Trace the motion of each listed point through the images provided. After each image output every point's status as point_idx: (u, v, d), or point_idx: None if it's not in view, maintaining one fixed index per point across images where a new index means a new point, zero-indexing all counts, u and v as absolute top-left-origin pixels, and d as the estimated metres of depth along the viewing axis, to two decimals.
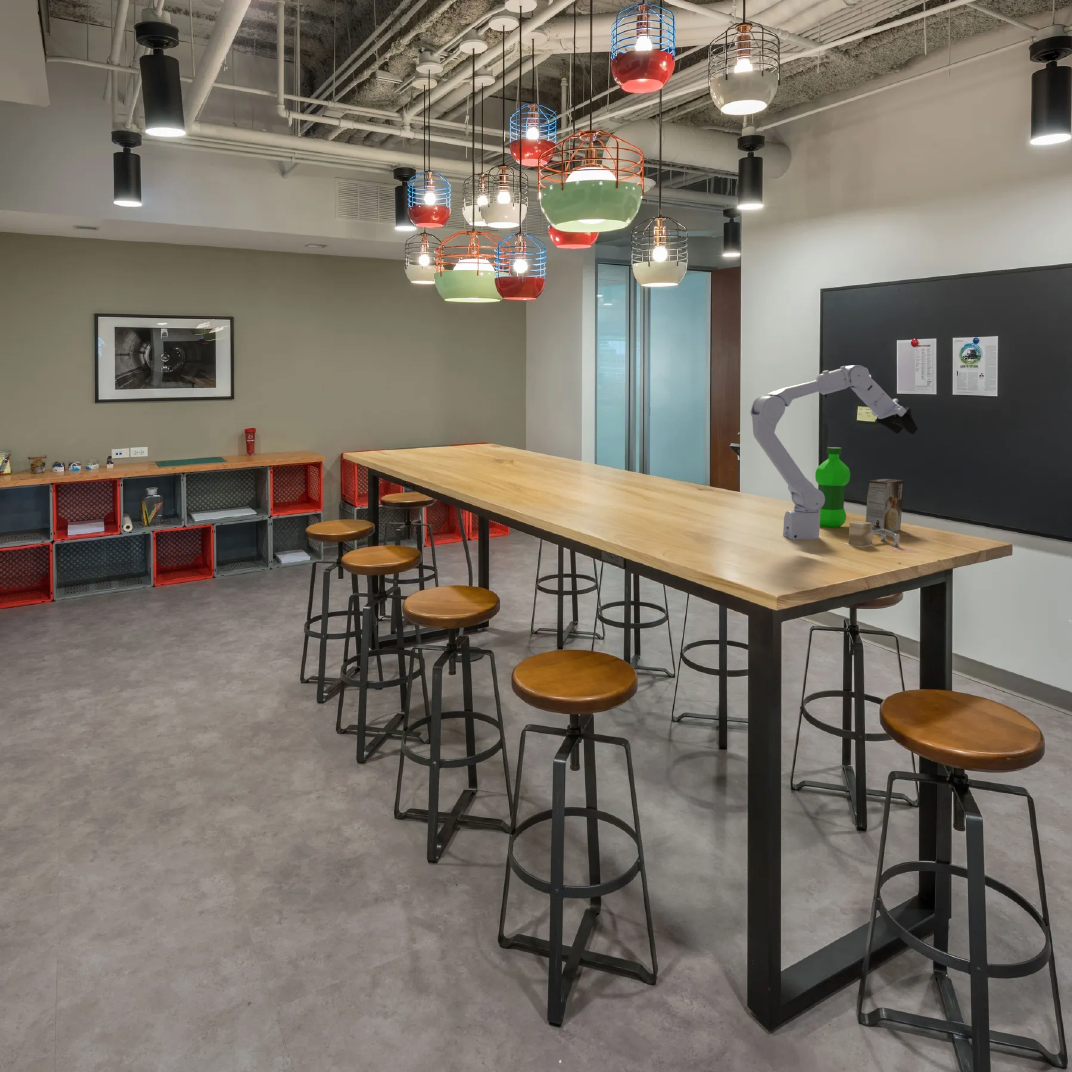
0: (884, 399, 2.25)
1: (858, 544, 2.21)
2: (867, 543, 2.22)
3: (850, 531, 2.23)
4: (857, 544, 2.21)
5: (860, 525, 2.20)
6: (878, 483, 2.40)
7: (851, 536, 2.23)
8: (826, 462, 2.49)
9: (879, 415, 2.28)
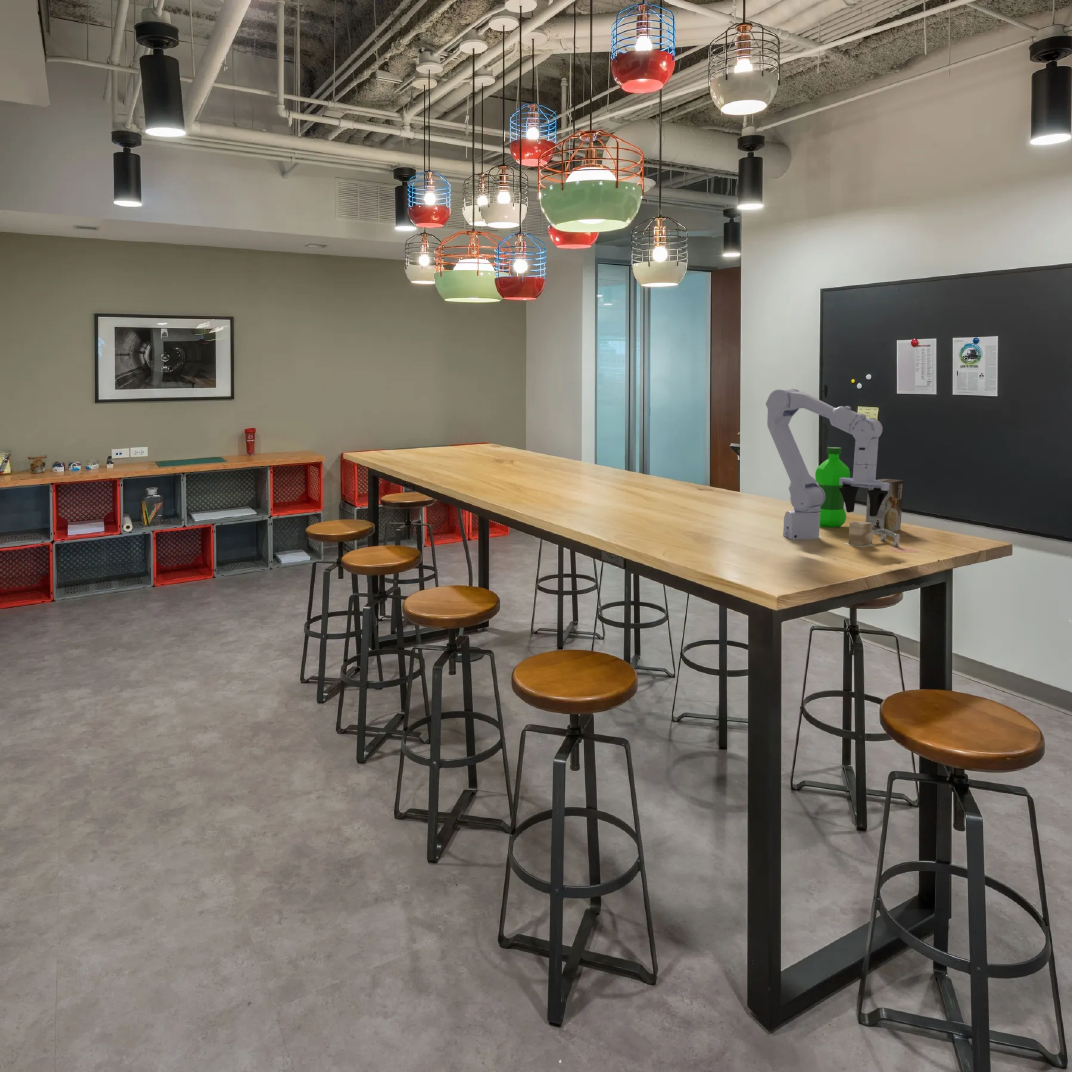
0: (874, 468, 2.17)
1: (858, 544, 2.21)
2: (867, 543, 2.22)
3: (850, 531, 2.23)
4: (857, 544, 2.21)
5: (860, 525, 2.20)
6: None
7: (851, 536, 2.23)
8: (826, 462, 2.49)
9: (859, 479, 2.18)
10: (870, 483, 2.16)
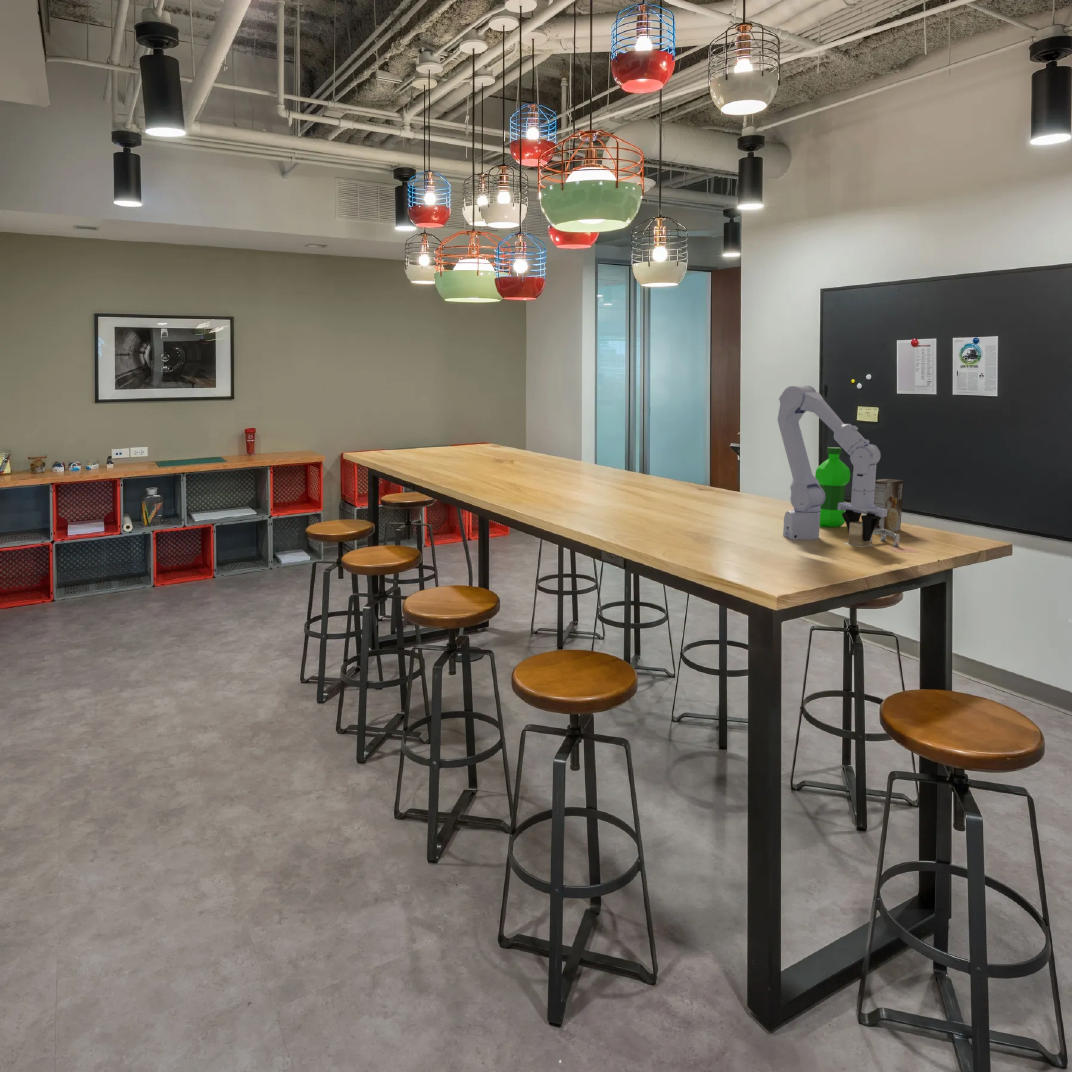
0: (872, 495, 2.18)
1: (858, 544, 2.21)
2: (867, 543, 2.22)
3: (850, 531, 2.23)
4: (857, 544, 2.21)
5: (860, 525, 2.20)
6: (878, 483, 2.40)
7: (851, 536, 2.23)
8: (826, 462, 2.49)
9: (857, 505, 2.19)
10: (868, 509, 2.17)
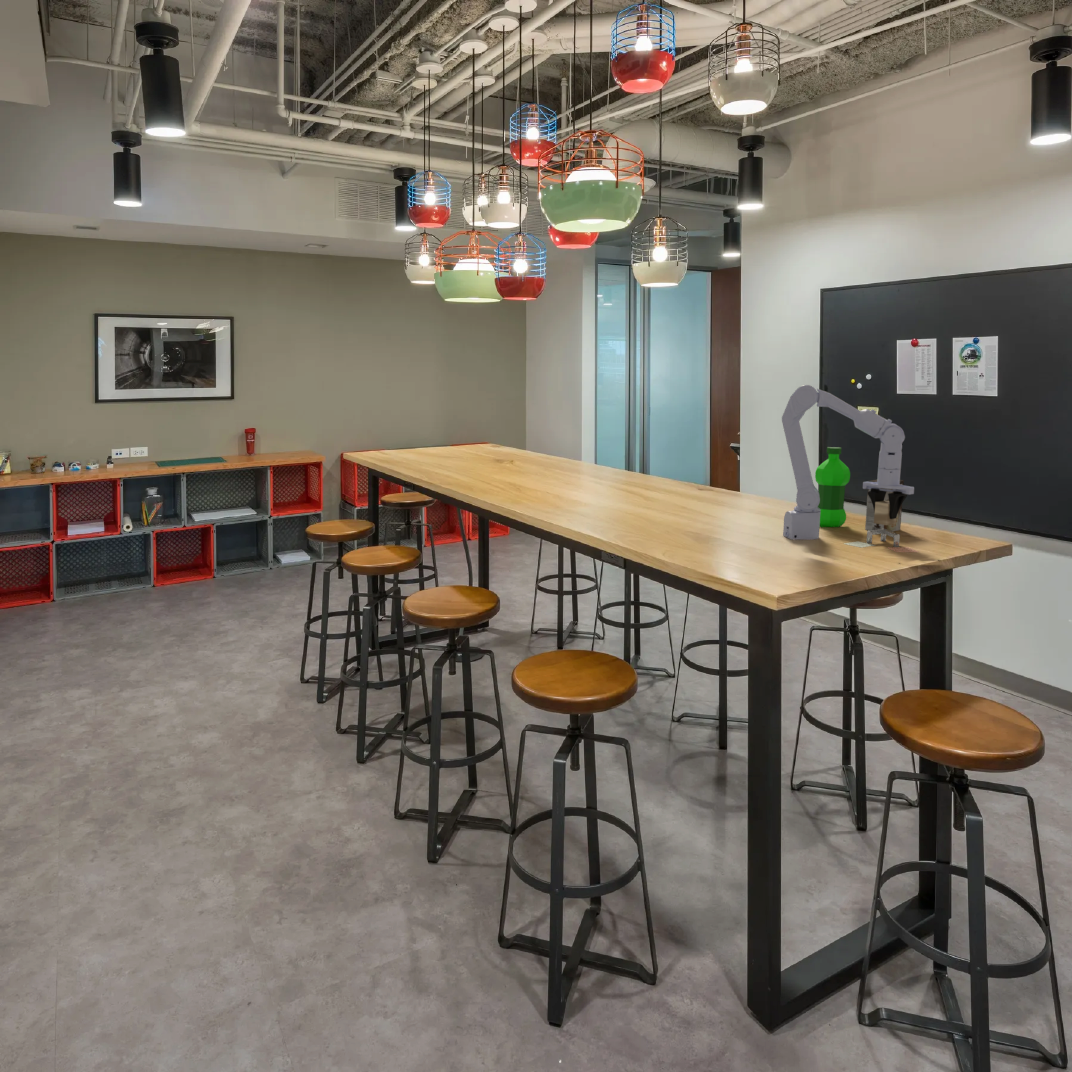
0: (899, 473, 2.22)
1: (884, 523, 2.24)
2: (892, 522, 2.25)
3: (876, 510, 2.26)
4: (883, 523, 2.25)
5: (886, 504, 2.23)
6: None
7: (877, 515, 2.26)
8: (826, 462, 2.49)
9: (884, 484, 2.22)
10: (895, 487, 2.21)
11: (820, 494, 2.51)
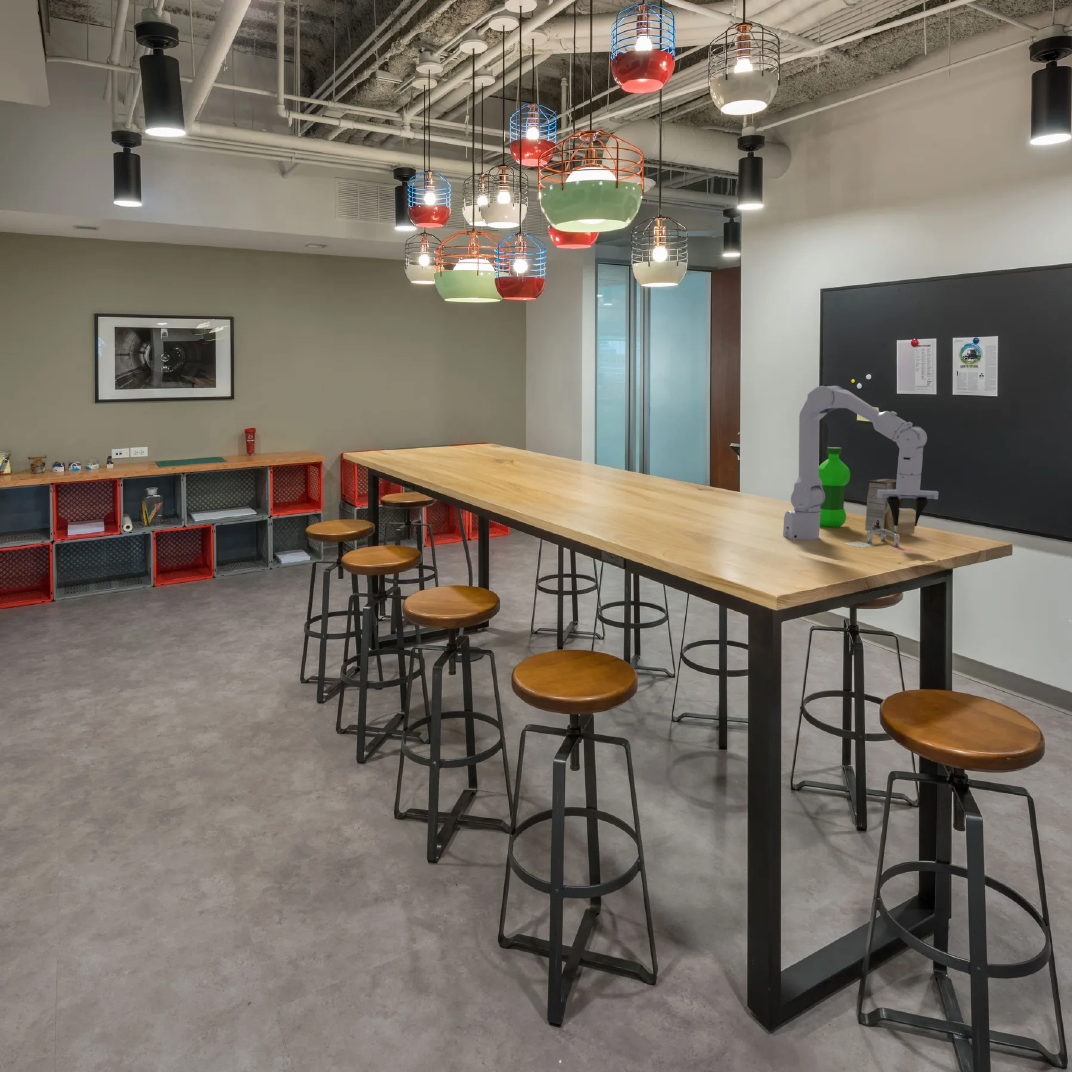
0: None
1: (912, 531, 2.13)
2: None
3: (900, 520, 2.13)
4: (910, 532, 2.13)
5: (914, 512, 2.12)
6: (878, 483, 2.40)
7: (902, 525, 2.13)
8: (826, 462, 2.49)
9: (913, 490, 2.10)
10: (924, 493, 2.10)
11: None
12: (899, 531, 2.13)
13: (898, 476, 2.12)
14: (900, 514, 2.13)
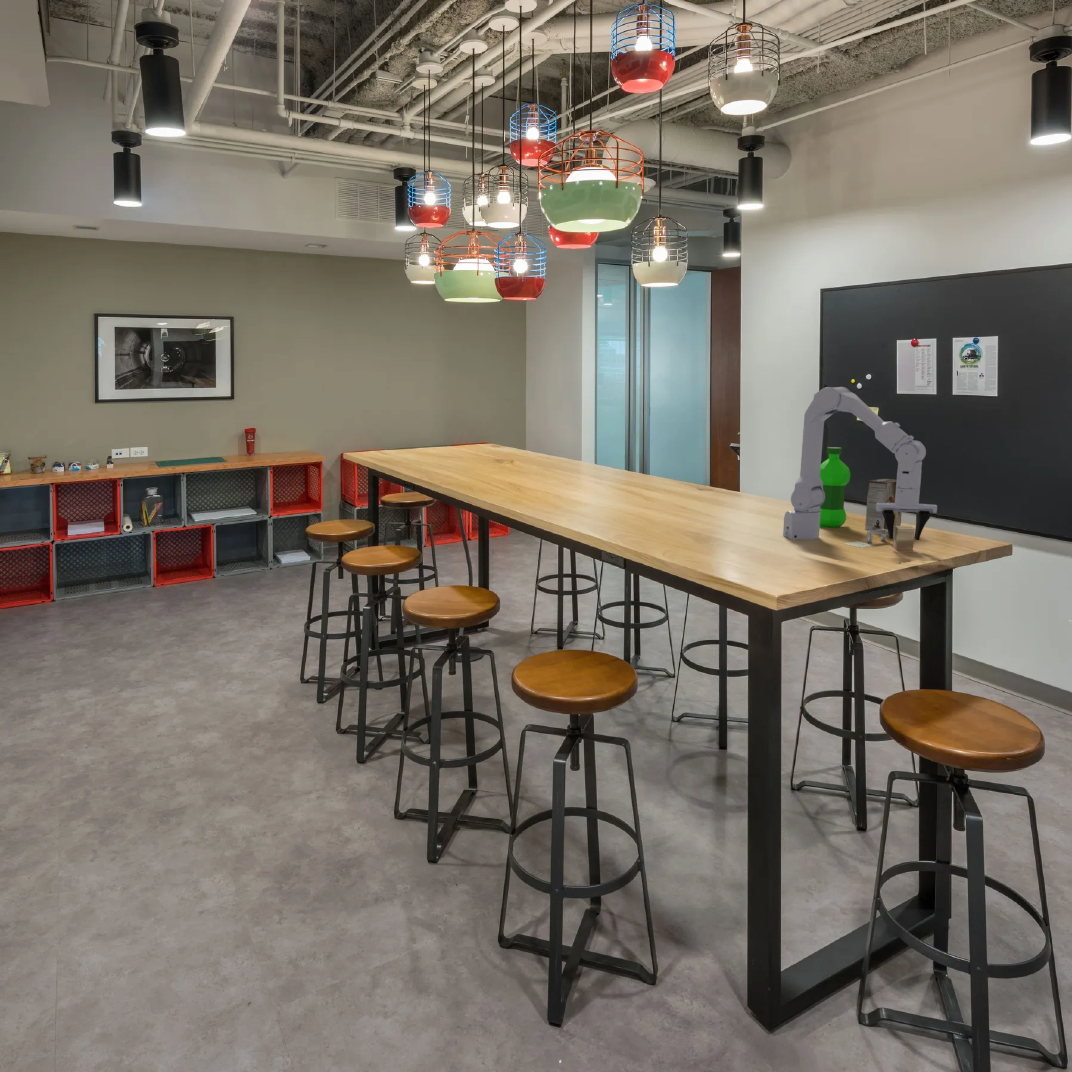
0: None
1: (910, 549, 2.14)
2: None
3: (899, 537, 2.14)
4: (908, 550, 2.14)
5: (912, 530, 2.13)
6: (878, 483, 2.40)
7: (900, 542, 2.14)
8: (826, 462, 2.49)
9: (911, 504, 2.11)
10: (923, 507, 2.11)
11: None
12: (898, 549, 2.14)
13: (897, 490, 2.13)
14: (899, 532, 2.13)
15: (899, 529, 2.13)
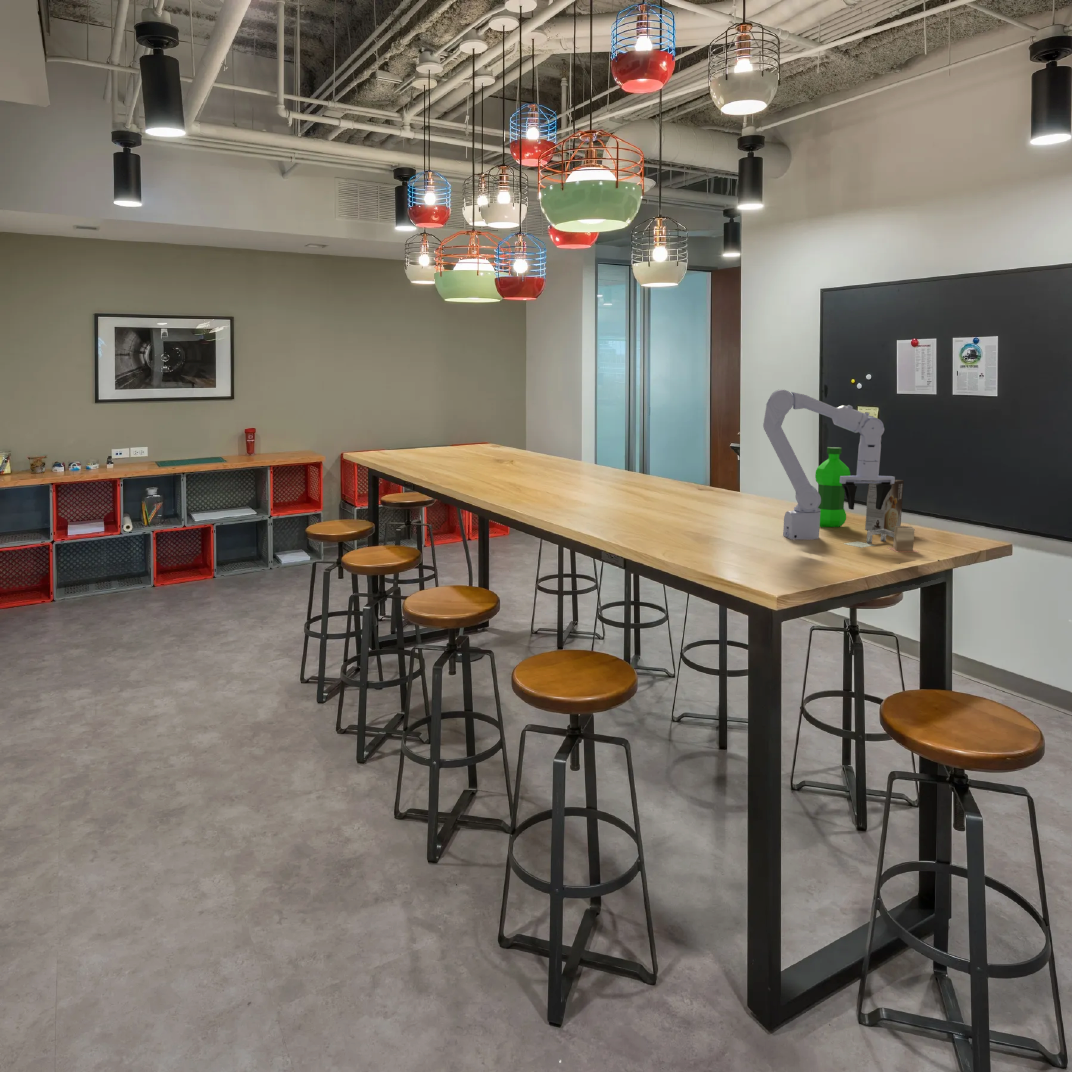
0: None
1: (910, 549, 2.14)
2: None
3: (899, 537, 2.14)
4: (908, 550, 2.14)
5: (912, 530, 2.13)
6: (878, 483, 2.40)
7: (900, 542, 2.14)
8: (826, 462, 2.49)
9: (873, 476, 2.24)
10: (883, 478, 2.25)
11: (820, 494, 2.51)
12: (898, 549, 2.14)
13: (859, 463, 2.25)
14: (899, 532, 2.13)
15: (899, 529, 2.13)
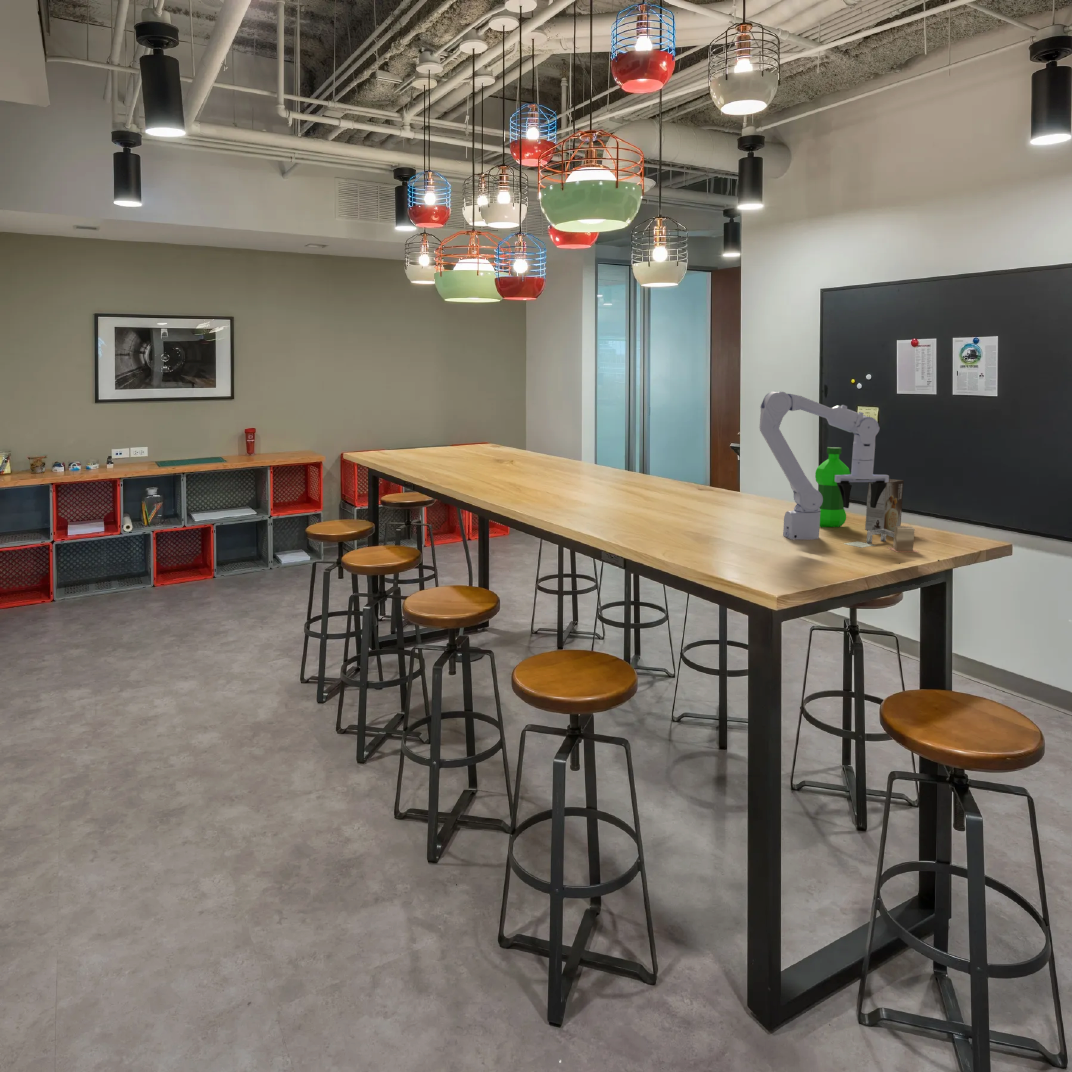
0: None
1: (910, 549, 2.14)
2: None
3: (899, 537, 2.14)
4: (908, 550, 2.14)
5: (912, 530, 2.13)
6: None
7: (900, 542, 2.14)
8: (826, 462, 2.49)
9: (868, 475, 2.26)
10: (877, 477, 2.27)
11: None
12: (898, 549, 2.14)
13: (854, 462, 2.27)
14: (899, 532, 2.13)
15: (899, 529, 2.13)
